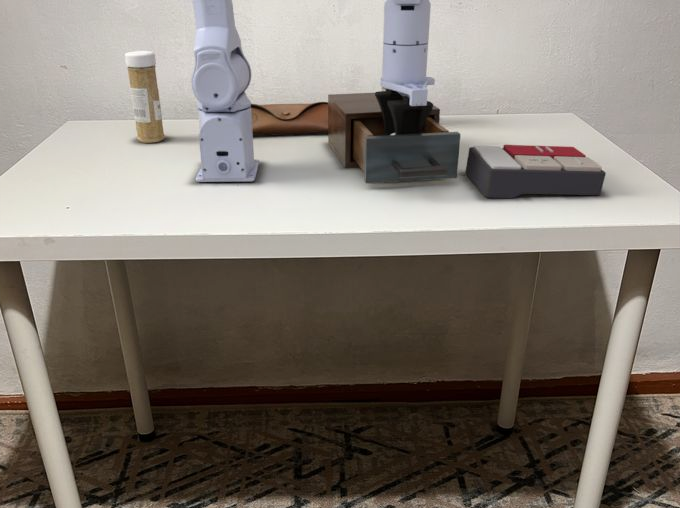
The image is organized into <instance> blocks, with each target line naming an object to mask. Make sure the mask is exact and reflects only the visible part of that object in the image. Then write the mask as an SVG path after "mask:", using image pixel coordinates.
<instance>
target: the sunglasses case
mask: <svg viewBox="0 0 680 508" xmlns="http://www.w3.org/2000/svg"><path fill="white" fill-rule="evenodd" d="M251 115H252V132H253V136H311V135H322V134H328V101H318V102H312V103H272V104H271V103H270V104H265V103H264V104H258V103H251Z"/></svg>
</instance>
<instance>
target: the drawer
mask: <svg viewBox="0 0 680 508" xmlns="http://www.w3.org/2000/svg"><path fill="white" fill-rule="evenodd" d="M460 143H461V133H460V132H459V131H449V130H448V129H447V128H446V127H444V126H443V125H441V124H440V122H439V123H437V122H436V121H435V120H433V119H432V118H430V117H429V116H428V117H427V119H426V121H425V123H424V125H423V128H422V130H421V134H404V135H386V133H385V127H384V121H383V118H363V119H352V139H351V156H352V157H353V158H354V160H355V161H356V162H357V163H358V165H359V166H360V167H359V168H360V169H361V170H362V171H363V182H364V184H366V185H368V184H382V183H398V182H413V181H430V180H431V181H432V180H446V179H448V180H449V179H458V178H457V177H458V168H459V167H458V166H459V154H460V145H461V144H460Z"/></svg>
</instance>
